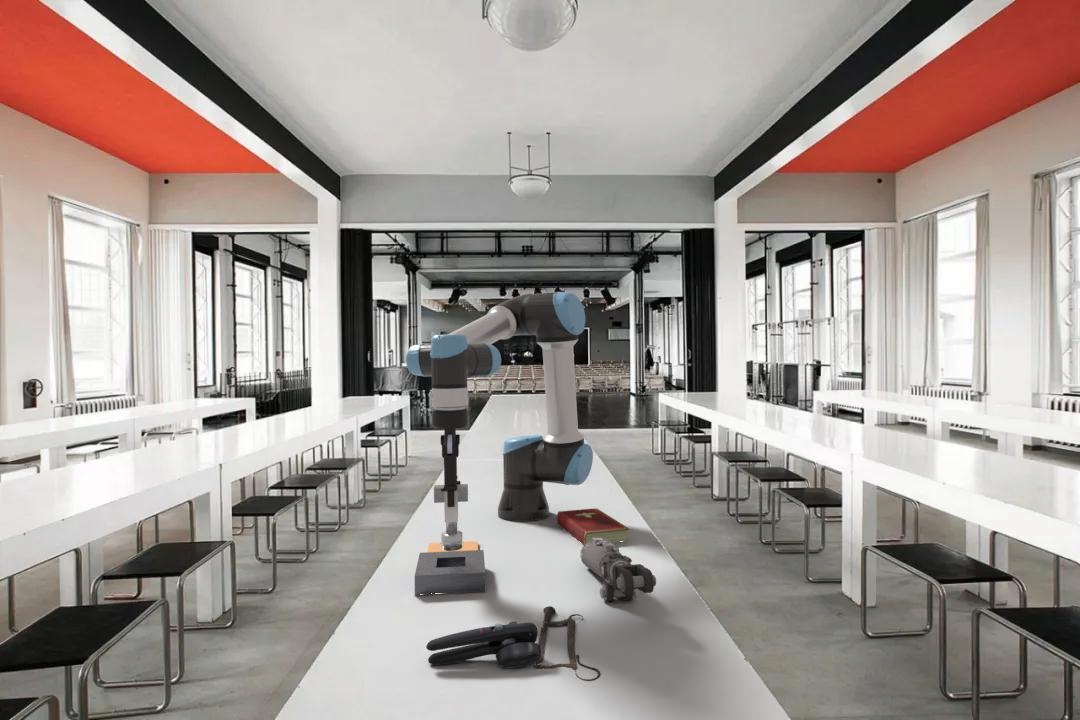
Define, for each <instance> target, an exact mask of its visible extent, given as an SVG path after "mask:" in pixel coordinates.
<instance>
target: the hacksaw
mask: <svg viewBox="0 0 1080 720" xmlns="http://www.w3.org/2000/svg"><path fill="white" fill-rule="evenodd" d="M543 613H544V614H543V620H542V627H540V632H539V638H538V642H537V644H539V645H540V647H541V657H540V658H539V660H537V661H536V662H534V664H533V667H532V669H534V670H550V669H556V668H570V669H572V670H574V672H575V676H576V677H577V678H578V679H580V680H582V681H585V682H592V681H595V680H598V679H599V678H600V677H601V672H600V670H599V669H598V668H596V667H592V666H589V665H585V664H583V663H581V661H580V655H579V654H576V650H575V641H576V640H575V639H576V638H575V636H576V635H575V630H576V620H574V619H573V617H575V616H577V617H581V618H582V619H581V620H580V621H579V623H581V622H583V621H584V616H583V615H581V614H577V613H573V614H570V615H569V617H568V618H566V619H562V620H558V621H556V620H555V621H551V619H552V617H553V616H554V615H555V614H556V613H557V611H556V608H555V607H554V606H551V605H550V606H549V605H548V606H545V607H544V608H543ZM553 614H554V615H553ZM565 625H567V654H568V661H569V663H556V664H552V665H549V663H547V664H546V665H543V664H542V663H543V662H544V657H545V650H546V644H547V636H548V630H549V627H555V628H556V627H560V626H565ZM577 664H578V665H579V666H581V667H583V668H585V669H589V670H592V671H595V672H597V676H596V677H593V678H590V679H589V678H588V679H586V678H582V677H580V676H579V675H578V674H577V671H576V670H578V665H577Z"/></svg>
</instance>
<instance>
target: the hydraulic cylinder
mask: <svg viewBox="0 0 1080 720" xmlns="http://www.w3.org/2000/svg"><path fill="white" fill-rule="evenodd" d="M580 549H581V550H580V555H579V556H580V560H581V562H582V564H584V566H585V567H587V569H589V570H591V571H592V572H594V573H595V574H596V575H598V576H599V577H600V578H602V579H603V580H601V584H602V586H601V587H600V589H599V597H600V598H601V599H603V600H604V601H605V602H606V603H611V602H613V601H614V599H615V598H623V600H624V599H625V600H624V601H631V600H633V598H634V597H635V599H636V598H637V596H636V595H637V594H636V593H637V590H638V591H641V592H642V593H643V594H649V593H650V594H651V593H653V592H654V588H655V586H657V579H656V578H657V577H656V576H655V574H653V573H652V571H651V570H650V569H648V568H647V567H645V566H644V565H643V564H642V563H637V564H631V563H632V562H633V559H632V558H631V557H628V556H627V555H623V554H622V553H621V551H620V549H619V547H618V546H617V545H615V543H611V542H609V541H605V540H604V539H602V538H592V541H591V542H588V543H586V544H585V545H582V547H581V548H580ZM636 589H637V590H636Z"/></svg>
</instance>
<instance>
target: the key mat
mask: <svg viewBox="0 0 1080 720" xmlns="http://www.w3.org/2000/svg"><path fill="white" fill-rule="evenodd" d="M471 550H479V543H478V540H474V541H473V540H472V541H469V540H468V541H467V540H466V541H462V548H461V549H459V550H455V551H471ZM426 552H448V551H445V550H442V548H441V542H428V547H427V551H426Z"/></svg>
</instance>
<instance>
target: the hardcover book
mask: <svg viewBox="0 0 1080 720" xmlns="http://www.w3.org/2000/svg"><path fill="white" fill-rule="evenodd" d="M556 514H557V515H556V524H557V525H558V524H559V525H560V526H559V525H558V526H559V527H561V529H563V528H564V529H565V530H564V529H563V530H564V531H565V532H567V533H568V532H569V533H570V534H571V537H573V538H574V539H575V538H576V539H575V540H577V542H579V541H580V542H581V543H582V544H581V543H580V542H579V543H580V544H581V545H582V546H584V545H585V544H586V543H588V542H591V541H592V538H602V539H604V540H605V541H609V542H611V543H612V542H620V541H627V542H628V531H629V530H630V528H629V527H627V526H626V525H624V524H623V523H621V521H620V522H619V521H618V520H616V519H615V518H613V517H612V516H610V515H609V514H607V513H605V512H604V511H602V510H600V509H599V508H597V507H596V508H595V507H594V508H581V509H574V510H573V509H572V510H563V511H562V510H559V511H558V512H557V513H556ZM569 533H568V534H569ZM570 534H569V535H570ZM620 543H621V542H620ZM612 544H613V543H612Z"/></svg>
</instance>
